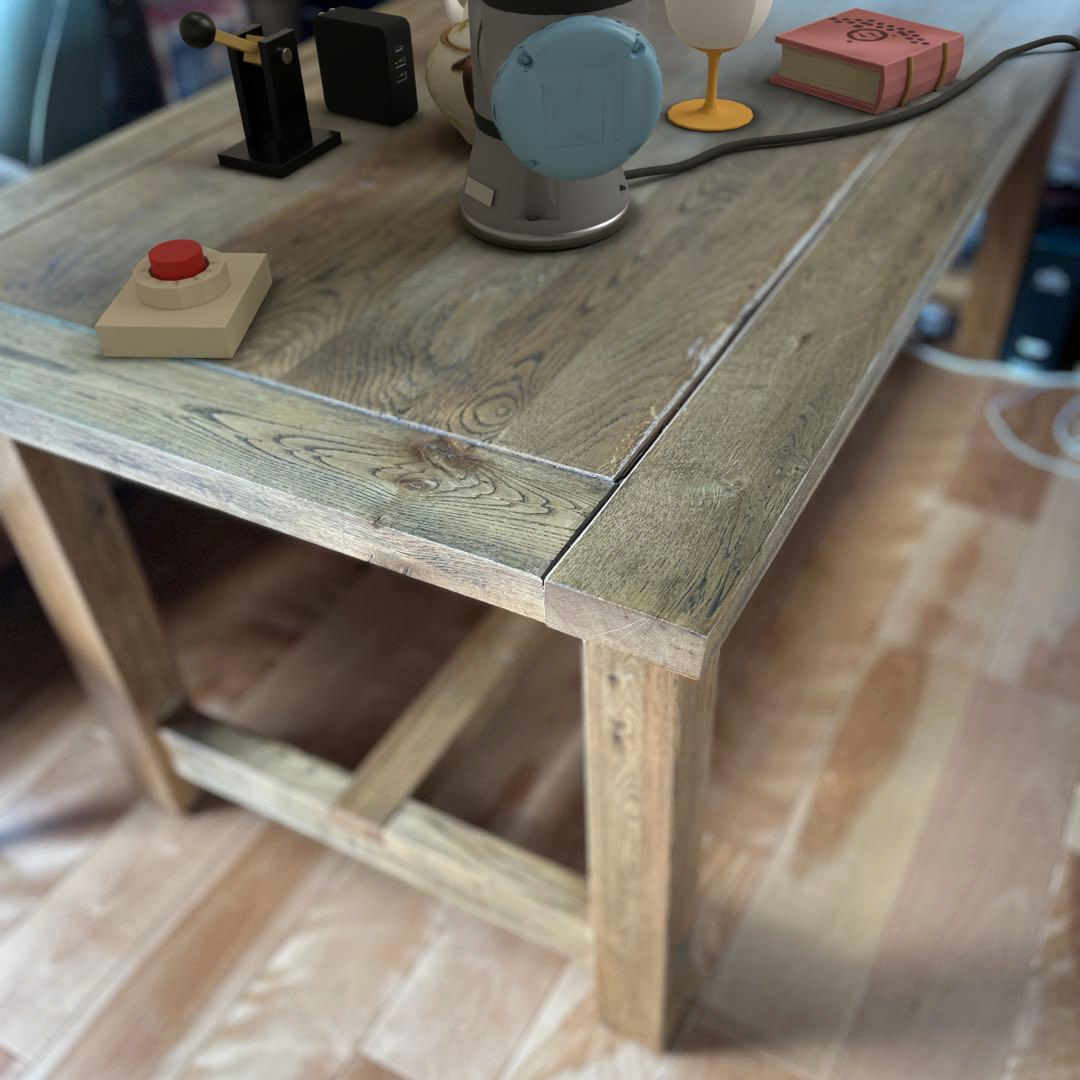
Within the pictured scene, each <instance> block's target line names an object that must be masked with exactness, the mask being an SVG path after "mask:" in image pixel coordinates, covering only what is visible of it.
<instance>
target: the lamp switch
mask: <svg viewBox="0 0 1080 1080" xmlns="http://www.w3.org/2000/svg"><path fill="white" fill-rule="evenodd" d="M230 34H231V35H234V36H237V37H239V38H242V39H245V40H246V35H253V36H260V37H265V35H264V30H263V25H262V24H260V23H252V24H250V25H247V26H245V27H243V28H241V29H238V30H236V31H234V32H231V33H230ZM297 43H298V42H297V37H296V30H295V29H294V28H284V29H282V30H279V31H278V32H275V33H273V34H270V35H268V36H266V37H265V38H264V39H262V40H260V41H258V47H259V53H260V58H261V63H262V67H260V66H257V65H254V64H251V63H248V62H245V61H243V59H244V52H242V51H239V50H236V49H233V48H230V47H227V46H225V47H226V51H227V56H228V60H229V65H230V71H231V75H232V79H233V81H232V82H233V84H234V91H235V94H236V100H237V105H238V109H239V115H240V119H241V124H242V129H243V134H244V137H245V138H244V139H243V140H241V141H239V142H237V143H235V144H233V145H231V146H230V147H227V148H226V149H224V150H221V151H220V152H218V153H217V159H218V163H219V166H221V167H224V168H225V167H226V168H230V169H234V170H239V171H244V172H249V173H252V174H253V173H254V174H258V175H263V176H269V177H273V178H278V179H285V178H286V177H288V176H290V175H291V174H293V173H295V172H296V171H298V170H299V169H301V168H302V167H304V166H307V165H308V164H310V163H311V162H312V161H314V160H316V159H318V158H320V157H321V156H323V155H325V154H326V153H329V151H331V150H334V149H335V148H337V147H338V146H340V145H341V144H343V140H342V133H341V131H339V130H333V129H327V128H322V127H316V126H311V122H310V116H309V109H308V104H307V97H306V91H305V85H304V79H303V73H302V66H301V62H300V55H299V50H298V49H299V48H298V44H297Z"/></svg>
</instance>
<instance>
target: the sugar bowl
mask: <svg viewBox="0 0 1080 1080" xmlns="http://www.w3.org/2000/svg"><path fill="white" fill-rule="evenodd" d="M424 78H425V84H426V88H427V91H428V94H429V96H430V98H431V99H432V100H433V102H434V104H435V105H436V107H437V108H438V109H439V111H440V112H441V113H442V114H443V115H444V117H445V118H446V119H447V120H448V121H449V122H450V123H451V124H452V125H453V127H454V128H455V129H456V130H457V131H458V132H459V134H460V135H461V136H462V138H463V139H464V140H465V141H466V142H467V143H468V144H469V145H470V146H473V143H474V139H475V135H476V122H475V107H474V92H473V76H472V60H471V46H470V31H469V18H467V19H465V20H463V21H461V22H458V23H455V24H453V25H451V24H450V25H449V26H448V27H446V28H445V29H444V30H443V31H442V32H441V34H440V37H439V38H438V39H437V40H436V42H435V43H434V44H433V46H432V48H431V49H430V51H429V54H428V56H427V58H426V62H425V67H424Z"/></svg>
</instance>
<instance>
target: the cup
mask: <svg viewBox="0 0 1080 1080" xmlns="http://www.w3.org/2000/svg"><path fill="white" fill-rule="evenodd" d="M773 2H774V0H664V6H665V9H666V15H667V16H666V17H667V19H668V22H669V24H670V26H671V28H672V30H673V32H674V34H675V36H676V37H677V38H678V39H679V40H680V41H681V42H682V43H684V44H685V45H687V46H689V47H691V48H693V49H695V50H697V51H700V52H703V53H705V54H706V56H707V82H706V83H707V84H706V92H705V98H695V99H690V100H684V101H681V102H679V103H676V104H674V105H672V106H671V108H669V110H668V111H667V118H668V120H669V121H670V122H672V123H673V124H674V125H676V126H678V127H681V128H683V129H687V130H691V131H699V132H725V131H729V130H731V131H732V130H735V129H738V128H741V127H743V126H745V125H748V124H749V123H750V122H751V121H752V119H753V118H754V114H753V112H752V110H751V108H749V107H748V106H746V105H745V104H743V103H740V102H737V101H733V100H730V99H721V98H717V97H718V96H717V95H718V92H717V91H718V74H719V66H720V58H721V56H722V55H723V54H724V53H728V52H730V51H734V50H735V49H738V48H739V47H742V46H744V45H746V44H747V43H749V42H750V41H751V40H752V39H753V38H754V37H755V36H756V35H757V34H758V33H759V31H760V29H762V27H763V25H764V24H765V22H766V21H767V19H768V17H769V13H770V11H771V7H772V5H773Z"/></svg>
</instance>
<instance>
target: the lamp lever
mask: <svg viewBox="0 0 1080 1080" xmlns="http://www.w3.org/2000/svg"><path fill="white" fill-rule="evenodd" d="M178 33H179V36H180V38H181V40H182V41H183V42H184V43H185V44H186V45H187V46H188V47H190V48H192V49H196V50H203V49H204V50H205V49H206V48H207V49H208V48H209V47H210V46H211V45H213V43H216V44H218V45H221V46H224V47H226V46H227V47H230V48H233V49H236V50H239V51H242V52H244V59H243V61H245V62H248V63H251V64H254V65H257V66H260V67H262V63H261V58H260V53H259V47H258V41H260V40H262V39H264V38H266V37H265V36H264V37H260V36H253V35H246V40H245V39H242V38H239V37H237V36H234V35H231V33H228V32H225V31H224V30H223V31H222V30H219V29H217V27H216V24H215V21H214V20H213V18H212V17H211V16H210V15H209V14H208V13H207V12H205V11H203V10H200V9H191V10H188V11H186V12H185V13H183V14H182V16H181V17H180V19H179V21H178ZM227 47H226V48H227Z"/></svg>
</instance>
